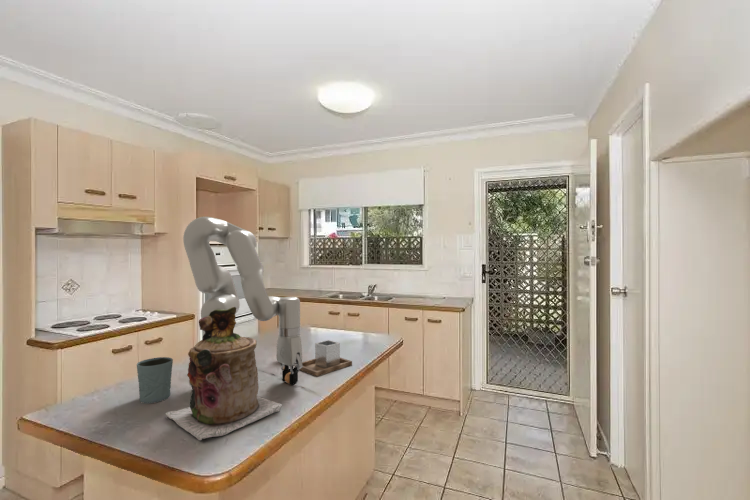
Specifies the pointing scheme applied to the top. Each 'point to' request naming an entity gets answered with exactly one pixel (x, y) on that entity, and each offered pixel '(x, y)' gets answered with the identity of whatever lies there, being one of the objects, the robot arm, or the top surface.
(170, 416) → the cookie jar
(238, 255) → the robot arm
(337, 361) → the square metal container
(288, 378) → the mixing ball
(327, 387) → the top surface
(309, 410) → the top surface
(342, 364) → the walnut tray
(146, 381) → the teal cup
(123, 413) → the top surface
